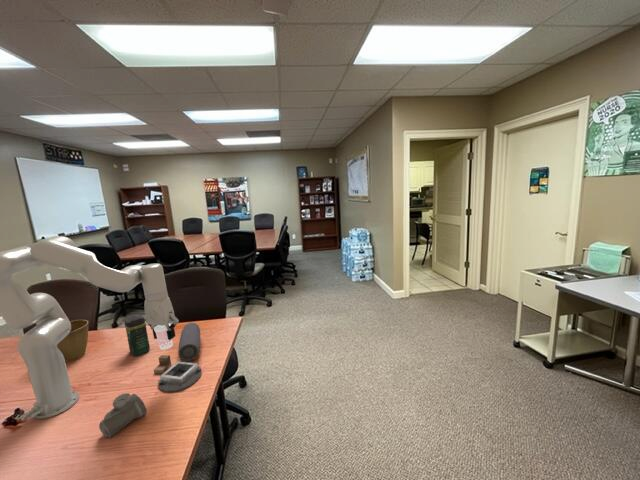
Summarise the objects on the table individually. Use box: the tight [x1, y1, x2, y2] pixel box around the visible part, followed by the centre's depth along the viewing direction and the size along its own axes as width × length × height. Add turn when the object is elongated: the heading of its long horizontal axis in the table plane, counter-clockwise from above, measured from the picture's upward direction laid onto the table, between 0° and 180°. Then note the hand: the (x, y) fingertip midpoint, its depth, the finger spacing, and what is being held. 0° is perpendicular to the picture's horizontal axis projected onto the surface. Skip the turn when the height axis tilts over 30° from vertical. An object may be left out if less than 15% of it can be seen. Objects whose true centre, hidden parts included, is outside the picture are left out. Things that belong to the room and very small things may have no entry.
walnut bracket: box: [153, 354, 172, 375], centre depth 122 cm, size 6×4×5 cm, turn 176°
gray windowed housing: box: [157, 360, 202, 393], centre depth 115 cm, size 16×16×4 cm
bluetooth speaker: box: [177, 322, 202, 362], centre depth 136 cm, size 23×9×10 cm, turn 22°
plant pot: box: [57, 319, 89, 362], centre depth 135 cm, size 15×15×16 cm
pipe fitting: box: [98, 392, 148, 438], centre depth 93 cm, size 12×8×10 cm
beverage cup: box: [154, 323, 174, 351], centre depth 111 cm, size 6×6×14 cm
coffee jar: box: [123, 313, 151, 357], centre depth 137 cm, size 10×8×19 cm
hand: (164, 337), depth 111 cm, fingers closed on beverage cup, 6 cm apart
